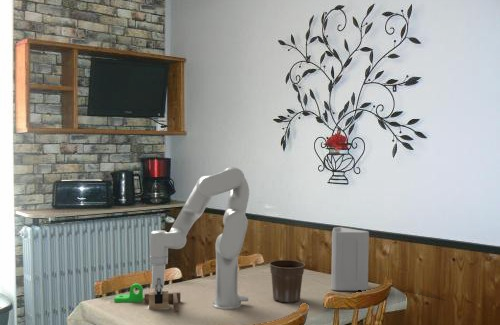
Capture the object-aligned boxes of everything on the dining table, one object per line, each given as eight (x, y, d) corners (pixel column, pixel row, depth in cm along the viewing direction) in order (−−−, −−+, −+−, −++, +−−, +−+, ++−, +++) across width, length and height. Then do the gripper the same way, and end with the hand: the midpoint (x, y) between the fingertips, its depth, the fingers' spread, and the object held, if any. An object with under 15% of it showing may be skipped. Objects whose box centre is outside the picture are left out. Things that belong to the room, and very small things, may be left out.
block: (149, 305, 232) (149, 291, 232) (168, 304, 234) (168, 290, 234) (148, 308, 228) (149, 294, 227) (168, 308, 229) (168, 293, 229)
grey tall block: (318, 285, 270) (319, 229, 269) (338, 281, 280) (339, 226, 279) (348, 294, 255) (349, 234, 255) (368, 289, 265) (369, 231, 264)
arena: (180, 301, 240) (180, 292, 240) (182, 312, 224) (182, 302, 224) (144, 302, 237) (144, 293, 237) (143, 313, 222) (143, 303, 222)
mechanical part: (143, 298, 244) (143, 280, 244) (142, 302, 238) (142, 284, 238) (116, 299, 243) (116, 281, 243) (114, 303, 237) (114, 284, 237)
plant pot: (308, 303, 239) (309, 267, 238) (272, 304, 236) (273, 267, 236) (299, 293, 255) (300, 259, 254) (265, 294, 252) (266, 260, 252)
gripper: (149, 256, 238) (149, 295, 238) (149, 264, 221) (149, 306, 221) (167, 255, 239) (167, 294, 240) (168, 264, 222) (168, 305, 223)
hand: (158, 300), depth 231 cm, fingers open, 9 cm apart
